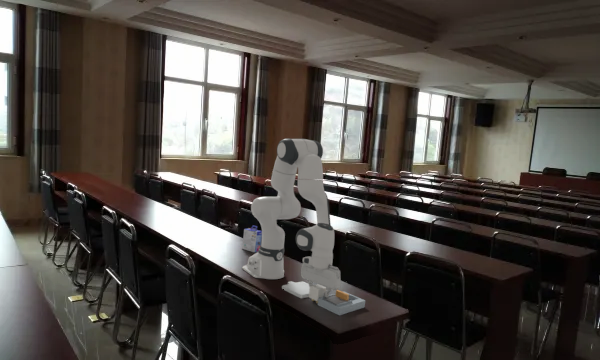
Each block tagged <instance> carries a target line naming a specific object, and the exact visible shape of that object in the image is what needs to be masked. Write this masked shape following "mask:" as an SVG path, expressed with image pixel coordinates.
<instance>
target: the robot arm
mask: <svg viewBox="0 0 600 360" xmlns="http://www.w3.org/2000/svg"><path fill="white" fill-rule="evenodd" d="M323 154H324V148H323V146H322V144H321V143H320V142H319V141H317V140H314V139H313V140H312V139H306V138H284V139H281V140H280V141H279V142H278V144H277V147H276V159H275V161H274V166H273V169H272V173H271V179H270V184H271V187H272V189H274V190H275V191H276V192H277V196H260V197H256V198H255V199H253V201H252V203H251V205H250V210H251V214H252V215H253V217H254V218H256V219H257V222H259V224H260V227H261V231H262V238H261V245H260V246H259V247H257V248H259V250H258V252H254V254H253V255H251V256H249V257H248V259H247V264H245V265H243V266H242V268H241V269H242V270H244V272H246V273H248V274H249V275H250V276H252V277H253V278H256V279H266V280H278V279H282V278H284V277H285V275H284V274H285V270H284V268H285V267H284V264H285V263H284V259H285V258H284V254H285V238H286V237H285V236H286V233H285V231H284V229H283V228H282V227H280V226H279V225H278V224H277V223H278V220H291V219H294V218H297V217H299V216H300V213H301V210H302V206H301V202H300V201H299V200H298V198H297V197H296V194H295V191H294V187H295V180H296V175H297V191H298V193H299V195H300V196H301V198H303V199H305V200H307V201H308V202H310V203H312V205H313V206H314V207H315V213H316V214H315V215H316V224H314V225H313V226H309V227H305V228H300V229H299V230H298V231H297V233H296V235H295V243H296V245H297V247H298V248H299V249H300V250H302V251H311V252H312V253H311V255H310V256H305V257H302V264H301V270H300V276H301V278H302V279H304V280H307V283H308V284H309V287H310V286H312V285H314V284H319V285H321V286H324V287H326V292H325V293H324V295H323V296H324V297H326V298H327V297H329V295H330V293H331V291H336V290H339V289H340V288H341V284H342V283H341V281H342V280H341V270H340V269H339V267H337V266H334V265H333V259H334V253H333V250H334V246H335V229H334V227H333V226H332V225H331V224H332V223H331V217H330V216H331V215H330V205H329V198H328V195H327V193H326V192H325V188H324V168H323V162H322V161H323V160H322V158H323V156H324V155H323ZM309 291H310V289H309Z"/></svg>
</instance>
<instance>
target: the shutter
mask: <svg viewBox="0 0 600 360" xmlns="http://www.w3.org/2000/svg"><path fill="white" fill-rule="evenodd" d="M344 292H345V291H344ZM344 292H343V291H341V290H339V289H337V290H335V294H336V295H334V296H330V297H327V298H324V300H326V301H328V302H330V303H332V304H334V305H337V304H340V303H343V302H347V301H349V300H348V299H349V294H350V293H349V294H347V293H348V292H347V293H344Z"/></svg>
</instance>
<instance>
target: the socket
mask: <svg viewBox="0 0 600 360" xmlns="http://www.w3.org/2000/svg"><path fill="white" fill-rule="evenodd" d="M342 292H344V293H347V294H349V299H348V300H349V301H347V302H343V303H340V304H337V305H334V304H332V303H330V302H328V301H326V300H324V298H326V297H321V298H318V303H317V306H318V307H321V308H323V309H325V310H327V311H329V312H332V313H333V314H335V315H338V316H343V315H345V314H347V313H351V312H355V311H357V310H360V309H364V308H365V307H366V305H365V304H366V300H365V299H363V298H360V297H358V296H356V295H354V294H351V293H349V292H347V291H344V290H343V291H342ZM334 295H336V293H332V294H329V297H330V296H334Z"/></svg>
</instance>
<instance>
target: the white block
mask: <svg viewBox="0 0 600 360" xmlns="http://www.w3.org/2000/svg"><path fill="white" fill-rule="evenodd" d="M326 291H327V290H326V287H324V286H322V285H319V284H317V283H315V284H313V285H312V286H310V292H309V297H308V298H309V299H311V301H312V302H315V303H316V304H318V298H321V297H324V296H323V295H324V293H325V292H326Z"/></svg>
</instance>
